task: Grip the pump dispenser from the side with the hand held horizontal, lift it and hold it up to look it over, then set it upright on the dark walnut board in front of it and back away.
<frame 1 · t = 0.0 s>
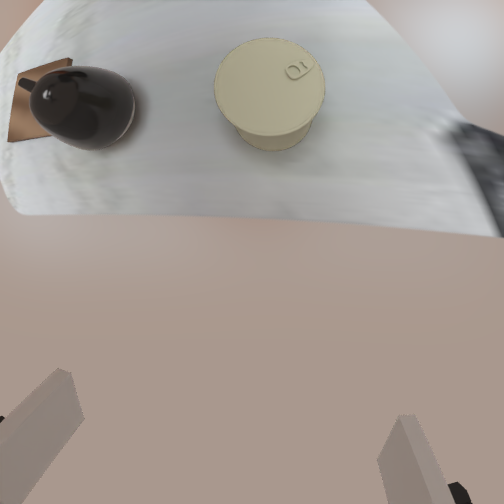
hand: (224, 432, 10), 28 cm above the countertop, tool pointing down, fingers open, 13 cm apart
pump dispenser: (112, 115, 35), on the countertop
walnut board: (38, 101, 35), on the countertop
can: (272, 113, 34), on the countertop
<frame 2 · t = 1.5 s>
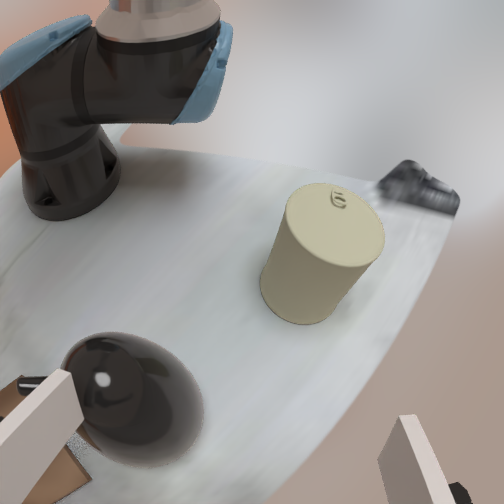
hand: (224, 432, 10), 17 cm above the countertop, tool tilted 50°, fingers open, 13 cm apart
pump dispenser: (148, 413, 24), on the countertop, touching gripper
walnut board: (18, 453, 18), on the countertop
can: (299, 287, 35), on the countertop
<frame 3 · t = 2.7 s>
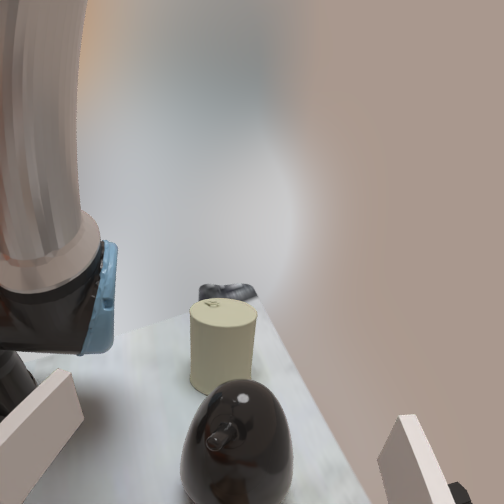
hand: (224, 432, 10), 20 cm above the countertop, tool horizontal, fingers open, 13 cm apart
pump dispenser: (233, 494, 24), on the countertop
can: (220, 379, 44), on the countertop
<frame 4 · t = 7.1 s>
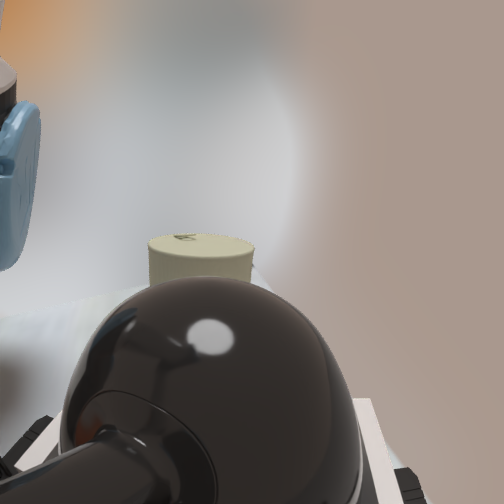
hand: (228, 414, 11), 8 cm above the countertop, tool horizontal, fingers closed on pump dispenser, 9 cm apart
can: (198, 360, 29), on the countertop
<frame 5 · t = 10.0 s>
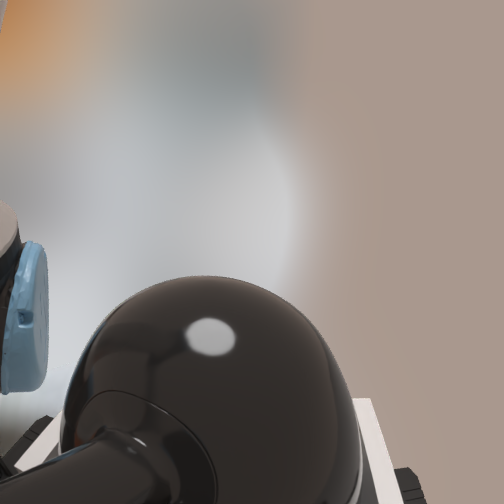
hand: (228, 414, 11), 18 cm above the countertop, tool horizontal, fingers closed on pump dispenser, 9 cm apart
when the fingers open (10 cm above the countertop, at t = 13.0 s): pump dispenser drops 1 cm, resting on walnut board.
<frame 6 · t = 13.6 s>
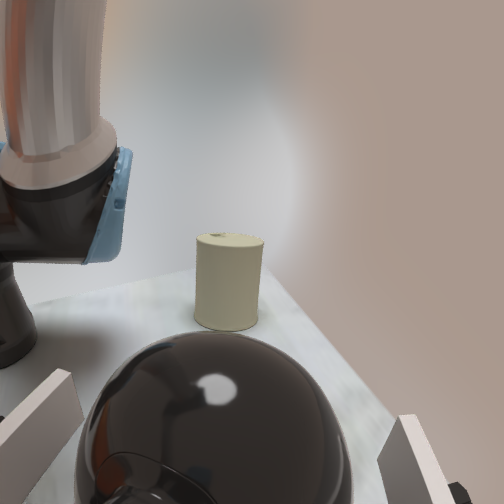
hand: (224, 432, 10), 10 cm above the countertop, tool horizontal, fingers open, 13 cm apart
can: (225, 318, 45), on the countertop
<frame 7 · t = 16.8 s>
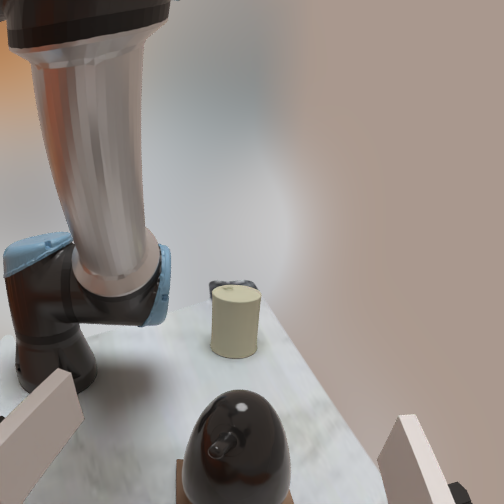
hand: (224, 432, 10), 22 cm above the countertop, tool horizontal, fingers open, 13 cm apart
pump dispenser: (233, 499, 24), point 1 cm above the countertop, touching walnut board
walnut board: (233, 503, 25), on the countertop
can: (233, 347, 60), on the countertop
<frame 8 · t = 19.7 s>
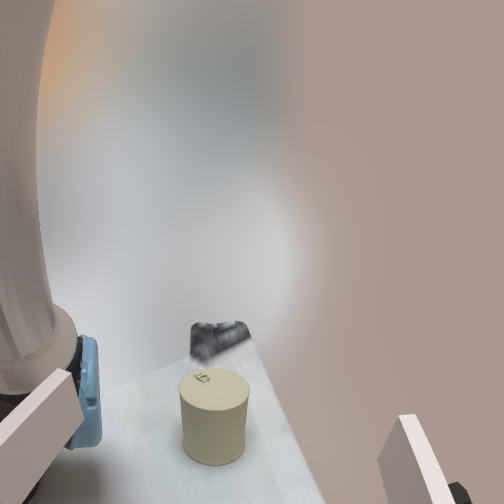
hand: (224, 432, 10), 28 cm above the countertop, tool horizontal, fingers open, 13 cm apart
can: (213, 444, 40), on the countertop
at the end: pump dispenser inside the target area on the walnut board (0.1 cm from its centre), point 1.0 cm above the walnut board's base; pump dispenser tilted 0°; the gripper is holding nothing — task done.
